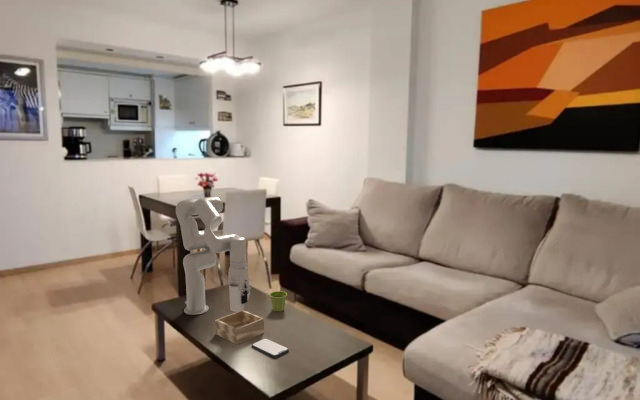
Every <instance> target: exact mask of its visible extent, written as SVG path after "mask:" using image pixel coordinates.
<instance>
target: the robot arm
mask: <svg viewBox="0 0 640 400" xmlns="http://www.w3.org/2000/svg"><path fill="white" fill-rule="evenodd" d="M223 209H224V204H223V201H222V199H220V198H219V197H218V196H209V197H199V198H189V199H183V200H180V201H179V202H177V204H176V206H175V215H176V217H177V220H178V223H179V225H180V231H181V237H182V243H183V247H184V249H185V250H187V251H195V250H196V251H195V252H190V253H188V254H186V255H185V256H184V257H183V259H182V264H183V268H184V273H185V274H184V275H185V286H186V289H185V291H186V293H185V294H186V300H185V301H184V304H186V306H185V308H184V309H183V312H184V313H185V314H186V315H188V316H189V315H191V316H194V315H195V316H197V315H201V314H205V313H207V312H208V311H209V306H208V305H207V304H206V283H205V276H204V274H203V273H202V272H201V271H202V270H205V269H209V268H212V267H214V266H215V265H216V264H217V254H219V253H220V254H221V253H225V252H229V265H230V266H229V267H228V273H227V274H228V278H227V285H228V286H229V284H230V286H233V287H237V286H238V290H241V293H242V295H241V303H242V304H244V305H245V304H246V303H248V301H249V299H248V300H247V295H248V293H249V291H250V292H251V290H252V287H251V286H250V281H249V279H250V278H249V271H248V267H247V266H248V264H247V260H248V259H247V239H246V238H245V237H243V236H239V235H238V234H235V233H230V234H225V235H218V236H217V235H216V234H215V233H214V230H215V229H217V228H218V227H219V226H220V225H221V223H222V221H223V220H222V219H223V218H222V216H221V215H220V214H219V213H221V212H223ZM193 216H198V217H199V218H200V220H201V221H202V223H203V225H205V228H204V229H202V230H199V228H198V223H197V221H196V220H195V218H194V217H193ZM200 249H202V250H201V251H197V250H200ZM216 253H217V254H216ZM243 290H244V291H243Z"/></svg>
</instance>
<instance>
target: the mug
mask: <svg viewBox="0 0 640 400" xmlns="http://www.w3.org/2000/svg"><path fill="white" fill-rule="evenodd" d="M228 291H229V292H228V294H229V307H230V308H229V309H230V311H231V312H234V313H235V312H238V311H242V310H244V309H245V303H244V304H242V303H241V295H242V293H241V290H238V286H237V287H233V286H230V284H229V285H228ZM243 291H244V292H245V289H244V290H243ZM250 296H251V290H250V291H249V293H248V294H247V300H248V301H249V299H250Z"/></svg>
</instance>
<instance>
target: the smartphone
mask: <svg viewBox="0 0 640 400" xmlns="http://www.w3.org/2000/svg"><path fill="white" fill-rule="evenodd" d="M251 348H253V349H255V350H257V351H258V352H260V353H263V354H264V355H266V356H268V357H270V358H272V359H277V358H279V357H281V356H283V355H286V354H287V353H288V352H289V347H287V346H284V345H281V344H280V343H278V342H275V341H273V340H271V339H269V338H262V339H260V340H257V341H256V342H253V343H252V344H251Z"/></svg>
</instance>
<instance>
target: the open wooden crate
mask: <svg viewBox="0 0 640 400" xmlns="http://www.w3.org/2000/svg"><path fill="white" fill-rule="evenodd" d="M214 322H215V324H214V325H215V335H217V336H219V337H221V338H223V339H225V340H227V341H228V342H231V343H232V344H235V345H240V344H242V343H244V342H247V341H249V340H251V339H253V338H256V337H258V336H260V335H262V334H264V333H265V318H264V317H261V316H259V315H256V314H255V313H251V312H249V311H246V310H244V309H243V310H242V311H237V312H235V311H234V312H233V313H229V314H227V315H225V316H222V317H220V318H217V319H215V321H214Z"/></svg>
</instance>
